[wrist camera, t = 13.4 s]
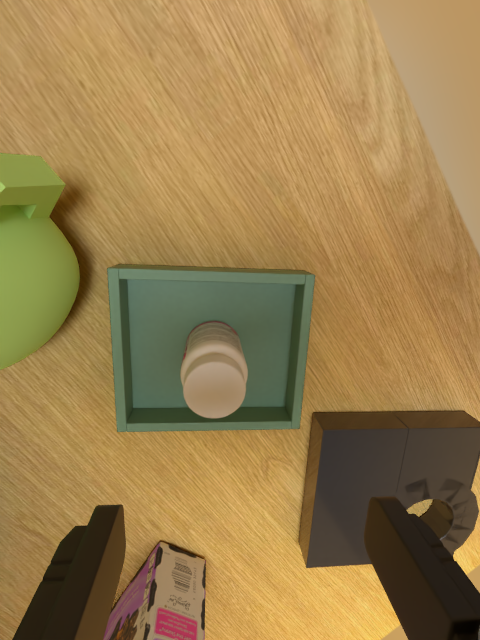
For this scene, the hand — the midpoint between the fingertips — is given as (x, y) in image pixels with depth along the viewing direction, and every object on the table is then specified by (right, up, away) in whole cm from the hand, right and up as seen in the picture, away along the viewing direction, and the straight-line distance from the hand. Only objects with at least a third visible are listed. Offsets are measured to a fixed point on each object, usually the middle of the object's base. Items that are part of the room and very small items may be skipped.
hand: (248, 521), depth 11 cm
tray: (-3, +4, +19) cm, 19 cm away
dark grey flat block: (+14, -10, +24) cm, 30 cm away
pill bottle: (-3, +4, +18) cm, 19 cm away
